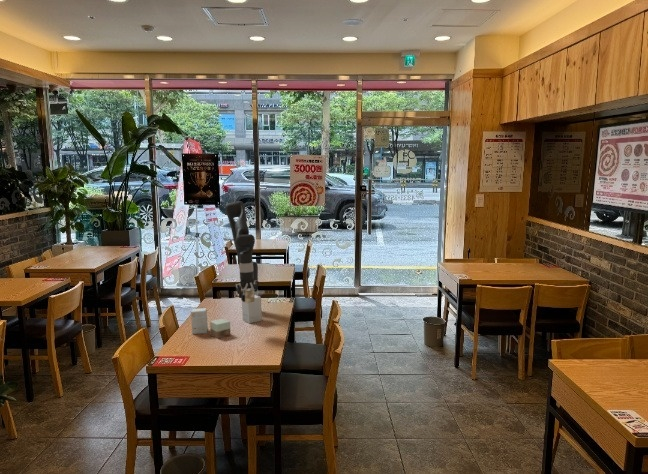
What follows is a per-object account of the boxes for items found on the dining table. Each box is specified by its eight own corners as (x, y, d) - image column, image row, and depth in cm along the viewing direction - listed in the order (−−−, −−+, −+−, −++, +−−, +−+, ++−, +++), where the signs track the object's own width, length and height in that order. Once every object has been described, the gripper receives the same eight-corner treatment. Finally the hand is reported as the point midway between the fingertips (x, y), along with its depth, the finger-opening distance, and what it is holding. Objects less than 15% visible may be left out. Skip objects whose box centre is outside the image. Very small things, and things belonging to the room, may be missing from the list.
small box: (207, 329, 262) (206, 307, 260) (206, 333, 256) (205, 310, 254) (193, 330, 260) (192, 308, 259) (192, 334, 254) (190, 311, 253)
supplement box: (262, 320, 277) (261, 296, 275) (249, 323, 271) (248, 299, 269) (255, 317, 284) (254, 294, 282) (242, 320, 278) (241, 296, 277)
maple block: (249, 299, 257) (249, 289, 256) (254, 301, 253) (253, 291, 252) (241, 301, 254) (241, 291, 253) (246, 303, 250) (245, 292, 249)
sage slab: (223, 325, 258) (223, 318, 257) (230, 328, 252) (230, 321, 251) (210, 328, 252) (210, 321, 252) (217, 331, 246) (216, 324, 246)
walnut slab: (223, 332, 258) (223, 325, 257) (230, 335, 252) (230, 328, 251) (210, 335, 253) (210, 328, 252) (217, 339, 247) (217, 332, 246)
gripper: (254, 267, 258) (255, 296, 261) (231, 271, 249) (233, 301, 252) (261, 269, 253) (262, 299, 255) (238, 273, 244) (240, 304, 246)
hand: (247, 300), depth 253 cm, fingers closed on maple block, 5 cm apart
